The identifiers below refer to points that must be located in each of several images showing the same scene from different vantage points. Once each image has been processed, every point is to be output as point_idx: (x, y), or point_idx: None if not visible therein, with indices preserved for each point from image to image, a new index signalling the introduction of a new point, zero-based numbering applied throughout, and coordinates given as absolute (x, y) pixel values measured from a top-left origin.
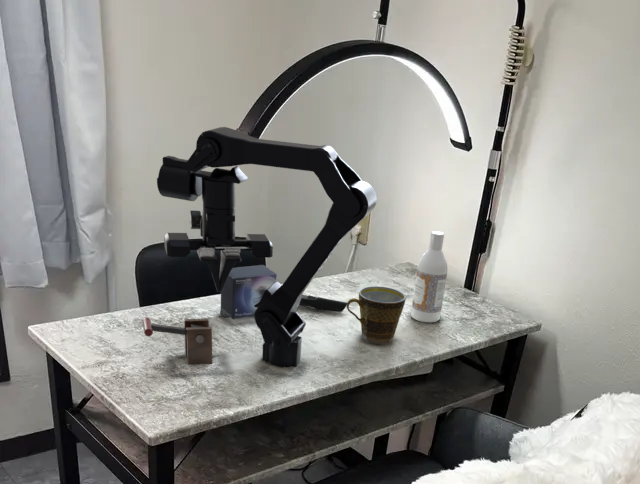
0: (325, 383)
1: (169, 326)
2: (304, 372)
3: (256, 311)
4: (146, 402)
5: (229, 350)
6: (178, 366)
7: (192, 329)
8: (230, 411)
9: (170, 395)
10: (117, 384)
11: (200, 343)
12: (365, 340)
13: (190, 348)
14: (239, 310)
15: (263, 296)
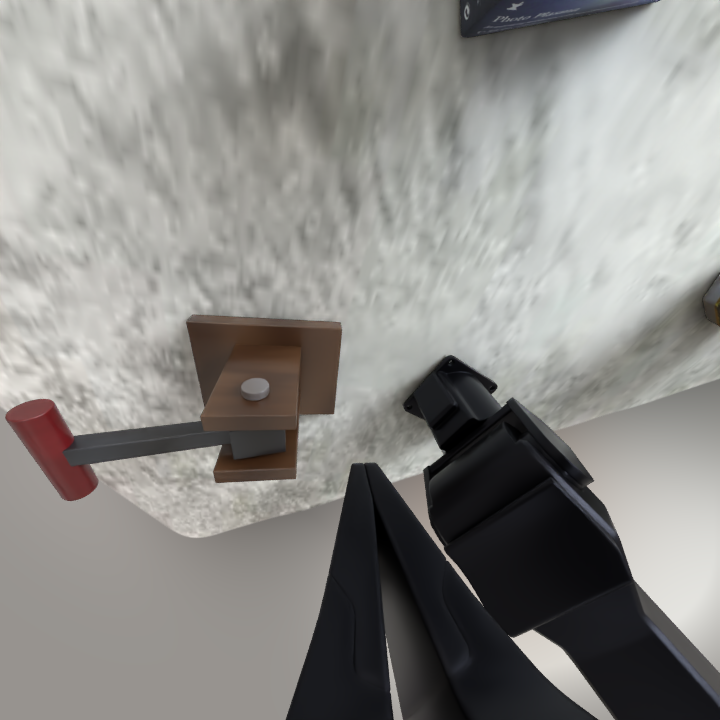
0: None
1: (149, 446)
2: None
3: (441, 537)
4: (165, 483)
5: (368, 294)
6: None
7: (233, 481)
8: (306, 504)
9: (208, 467)
10: (82, 428)
11: None
12: (707, 292)
13: None
14: (530, 6)
15: (485, 606)
